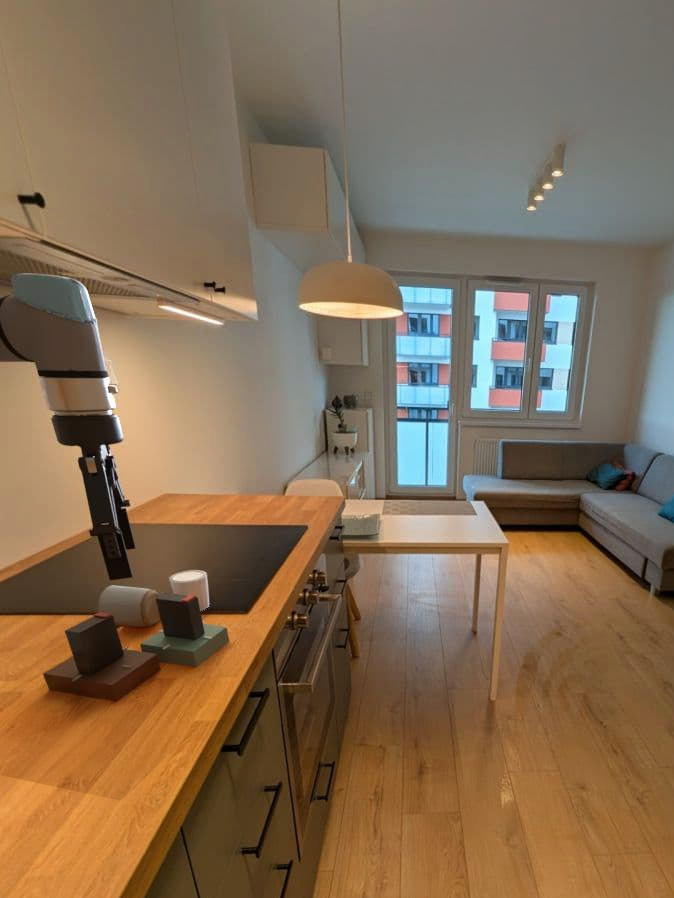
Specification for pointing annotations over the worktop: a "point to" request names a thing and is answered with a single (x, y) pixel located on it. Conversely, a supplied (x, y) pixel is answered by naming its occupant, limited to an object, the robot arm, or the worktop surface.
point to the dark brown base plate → (104, 676)
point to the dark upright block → (180, 616)
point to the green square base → (187, 646)
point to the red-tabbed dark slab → (94, 643)
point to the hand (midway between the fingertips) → (124, 562)
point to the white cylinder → (192, 585)
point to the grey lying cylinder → (130, 606)
